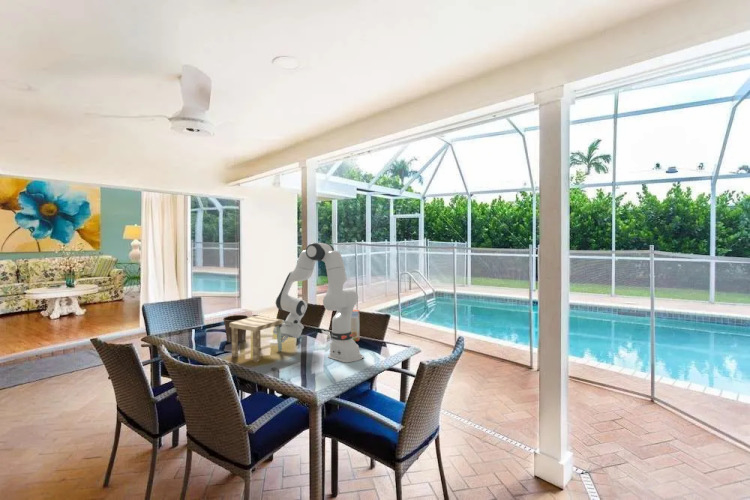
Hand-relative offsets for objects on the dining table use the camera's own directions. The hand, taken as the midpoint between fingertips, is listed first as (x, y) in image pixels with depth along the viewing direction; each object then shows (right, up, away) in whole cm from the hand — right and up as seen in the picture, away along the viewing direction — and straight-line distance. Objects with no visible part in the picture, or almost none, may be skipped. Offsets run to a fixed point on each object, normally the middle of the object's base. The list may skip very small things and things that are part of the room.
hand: (281, 341), depth 236 cm
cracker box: (+41, -5, +25) cm, 48 cm away
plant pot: (-37, -5, +24) cm, 45 cm away
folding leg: (0, -6, -1) cm, 6 cm away
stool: (-13, -6, -5) cm, 16 cm away
